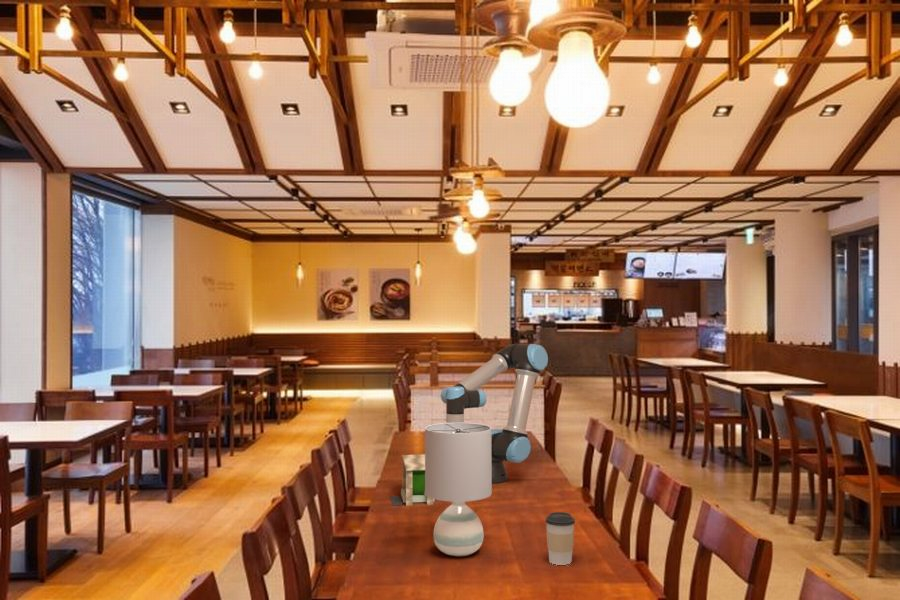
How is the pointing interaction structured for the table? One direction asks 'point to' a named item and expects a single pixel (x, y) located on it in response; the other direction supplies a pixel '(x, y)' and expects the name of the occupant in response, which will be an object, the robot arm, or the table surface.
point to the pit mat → (396, 500)
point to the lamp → (458, 482)
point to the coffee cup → (560, 537)
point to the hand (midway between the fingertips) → (454, 479)
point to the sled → (414, 497)
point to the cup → (418, 482)
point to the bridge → (407, 466)
